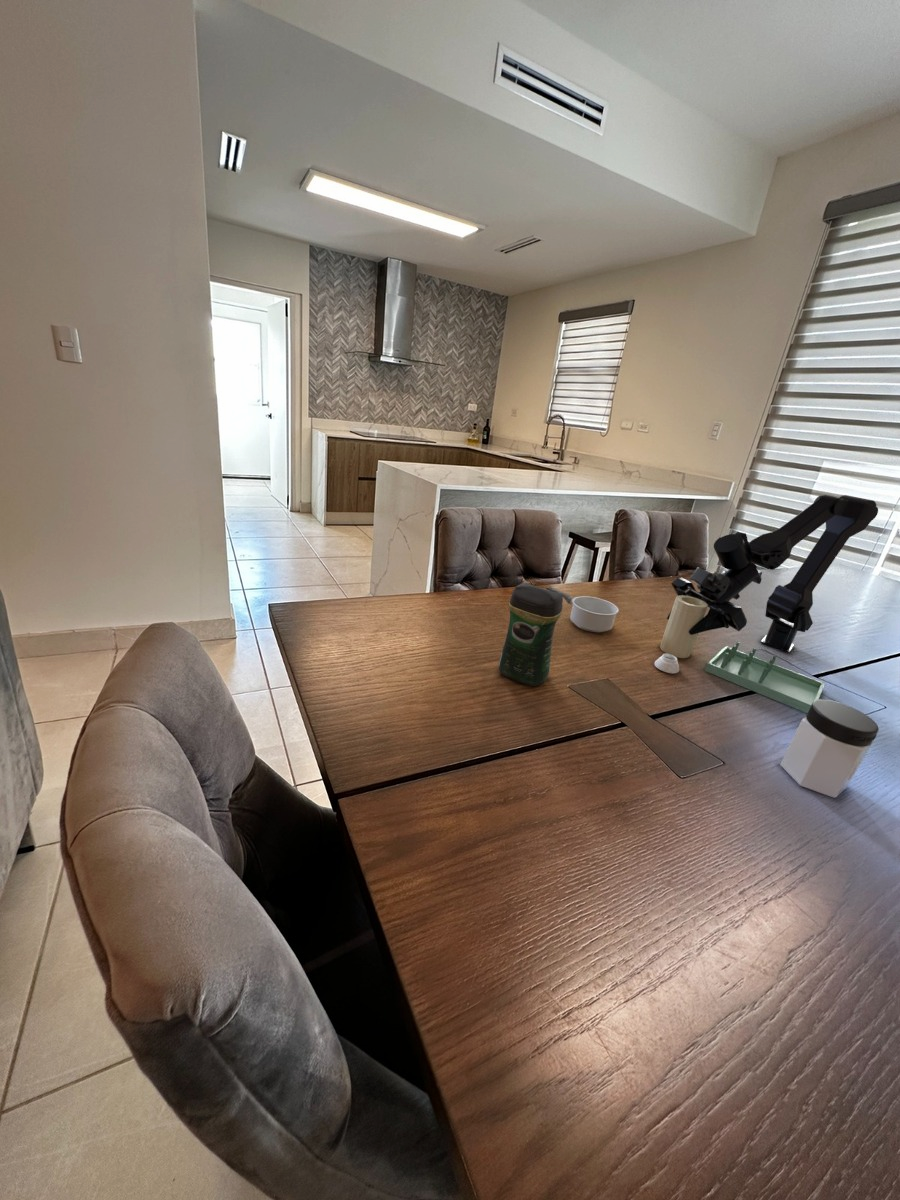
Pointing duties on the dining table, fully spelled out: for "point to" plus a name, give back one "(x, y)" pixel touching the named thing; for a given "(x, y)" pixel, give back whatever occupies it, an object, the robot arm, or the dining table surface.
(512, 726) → the dining table surface
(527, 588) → the coffee jar
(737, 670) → the dish rack
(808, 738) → the jar
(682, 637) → the beige cylindrical vase
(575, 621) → the saucepan
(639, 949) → the dining table surface
